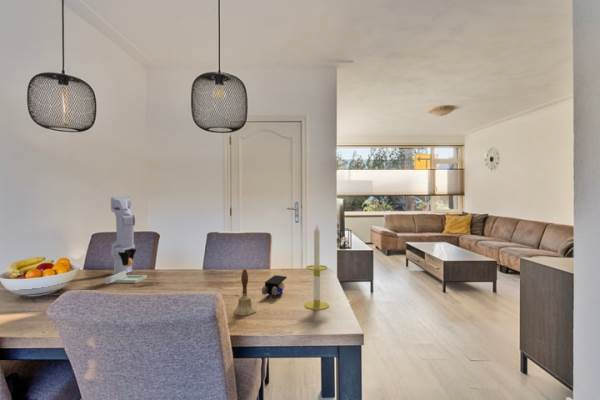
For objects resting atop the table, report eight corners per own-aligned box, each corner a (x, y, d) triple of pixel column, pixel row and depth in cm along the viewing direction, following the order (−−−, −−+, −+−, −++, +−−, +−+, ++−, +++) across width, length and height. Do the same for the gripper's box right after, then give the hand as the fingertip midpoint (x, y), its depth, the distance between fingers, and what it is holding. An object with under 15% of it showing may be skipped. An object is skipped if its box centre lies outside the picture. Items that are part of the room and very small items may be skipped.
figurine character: (276, 304, 136) (287, 290, 151) (275, 286, 136) (287, 274, 150) (261, 302, 138) (274, 289, 153) (260, 285, 138) (273, 273, 152)
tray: (128, 277, 177) (128, 275, 177) (146, 278, 176) (146, 275, 176) (115, 282, 166) (115, 279, 166) (135, 283, 165) (135, 280, 165)
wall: (124, 276, 180) (124, 270, 180) (126, 276, 179) (126, 271, 179) (105, 283, 164) (105, 277, 164) (107, 283, 163) (107, 277, 163)
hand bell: (229, 311, 123) (229, 269, 123) (247, 306, 129) (247, 266, 129) (242, 317, 117) (241, 273, 117) (260, 311, 123) (260, 269, 123)
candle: (308, 311, 124) (308, 225, 124) (301, 303, 133) (301, 223, 133) (333, 308, 126) (333, 225, 126) (324, 300, 136) (324, 223, 136)
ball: (124, 266, 173) (124, 257, 173) (134, 266, 174) (134, 256, 174) (120, 268, 168) (120, 258, 168) (130, 267, 169) (130, 258, 169)
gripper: (125, 236, 178) (125, 261, 178) (113, 240, 163) (113, 267, 163) (138, 236, 179) (138, 261, 178) (127, 239, 164) (128, 266, 164)
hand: (127, 264), depth 171 cm, fingers closed on ball, 5 cm apart
